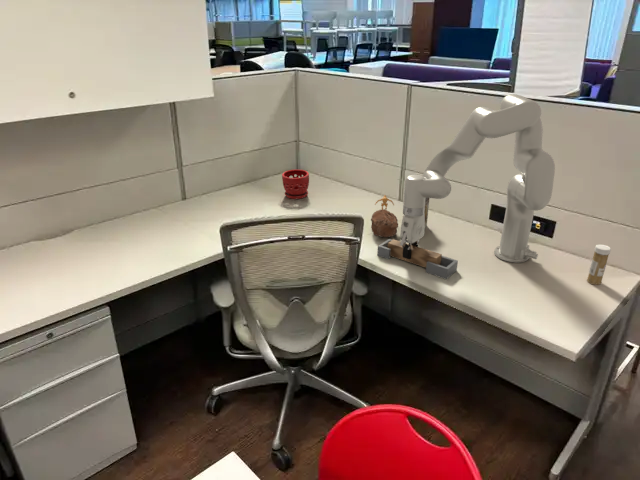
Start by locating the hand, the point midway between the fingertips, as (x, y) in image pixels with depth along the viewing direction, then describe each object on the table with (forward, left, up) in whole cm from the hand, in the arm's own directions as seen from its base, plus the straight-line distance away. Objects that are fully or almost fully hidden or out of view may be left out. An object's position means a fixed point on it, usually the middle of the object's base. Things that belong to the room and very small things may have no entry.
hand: (410, 255), depth 182 cm
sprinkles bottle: (-57, -26, -2) cm, 63 cm away
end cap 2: (-13, 0, -2) cm, 13 cm away
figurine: (+28, -26, -2) cm, 38 cm away
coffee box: (+13, -28, -2) cm, 31 cm away
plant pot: (+78, -24, -2) cm, 82 cm away
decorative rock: (+20, -14, -2) cm, 25 cm away
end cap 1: (+9, 0, -2) cm, 9 cm away
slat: (-1, 0, -2) cm, 2 cm away
